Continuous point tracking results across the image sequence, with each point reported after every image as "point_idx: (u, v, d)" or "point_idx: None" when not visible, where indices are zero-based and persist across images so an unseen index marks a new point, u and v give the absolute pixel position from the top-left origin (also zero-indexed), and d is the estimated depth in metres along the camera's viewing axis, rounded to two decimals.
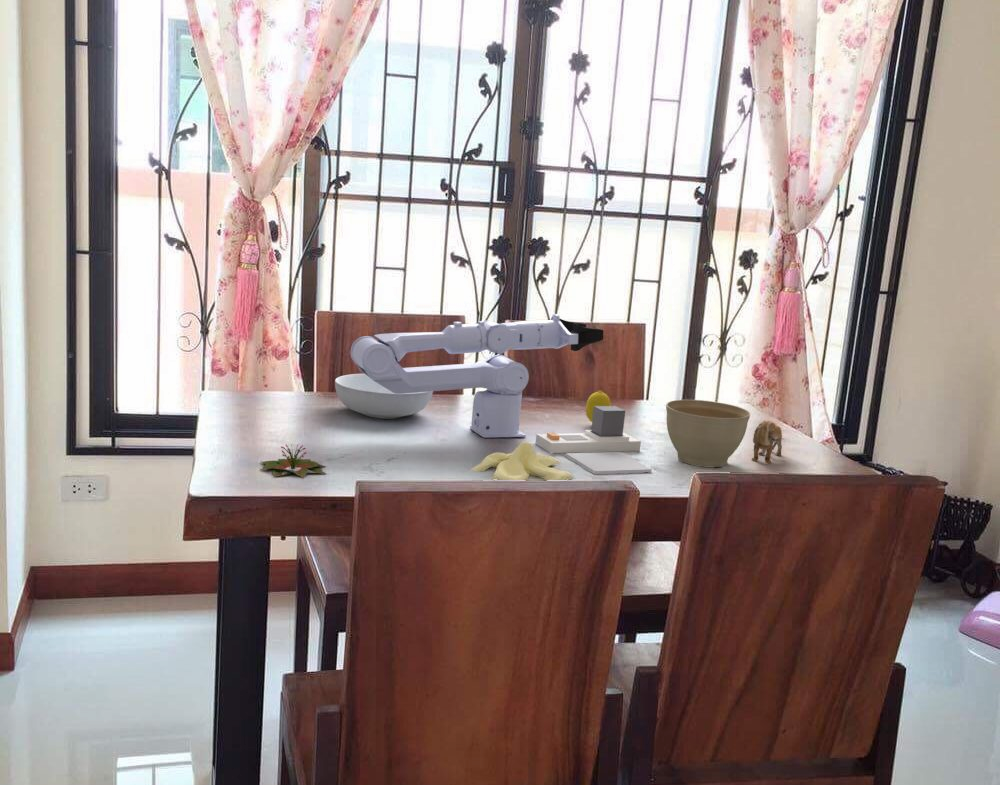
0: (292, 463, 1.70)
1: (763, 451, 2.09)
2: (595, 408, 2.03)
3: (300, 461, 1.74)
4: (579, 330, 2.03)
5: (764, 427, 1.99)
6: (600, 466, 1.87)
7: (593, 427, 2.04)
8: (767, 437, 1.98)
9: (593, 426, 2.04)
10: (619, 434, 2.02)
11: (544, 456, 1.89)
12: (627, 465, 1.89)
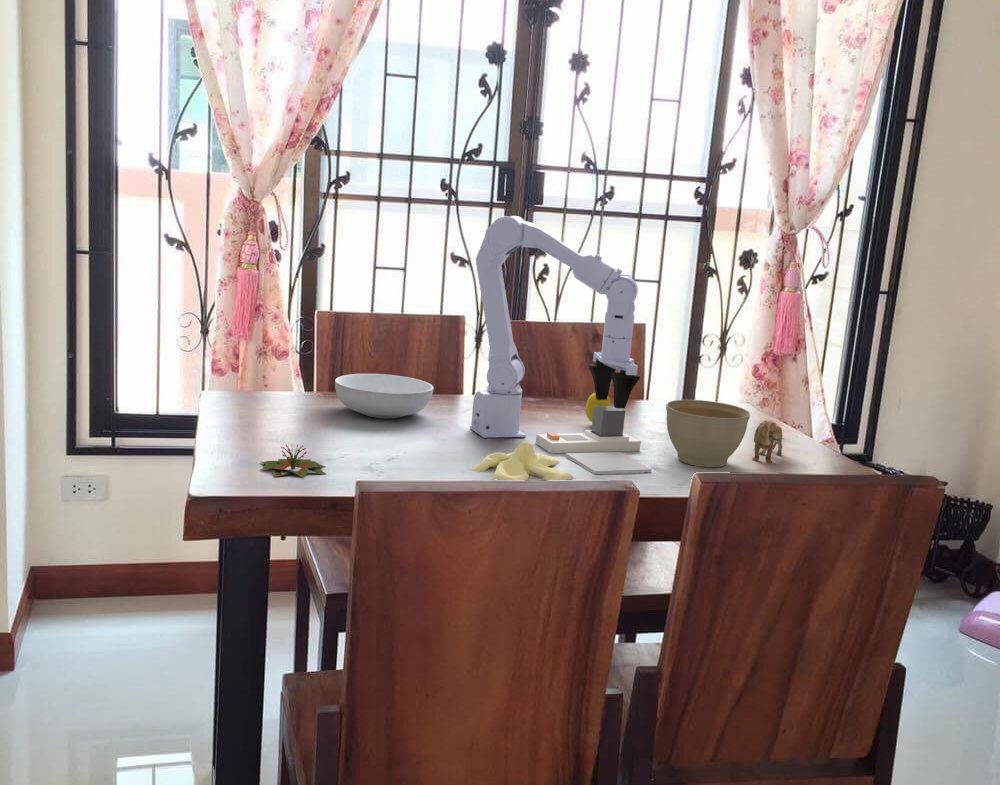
0: (292, 463, 1.70)
1: (763, 451, 2.09)
2: (595, 408, 2.03)
3: (300, 461, 1.74)
4: (635, 378, 1.96)
5: (765, 427, 1.99)
6: (600, 466, 1.87)
7: (593, 427, 2.04)
8: (767, 436, 1.99)
9: (593, 426, 2.04)
10: (619, 434, 2.02)
11: (544, 456, 1.89)
12: (627, 465, 1.89)
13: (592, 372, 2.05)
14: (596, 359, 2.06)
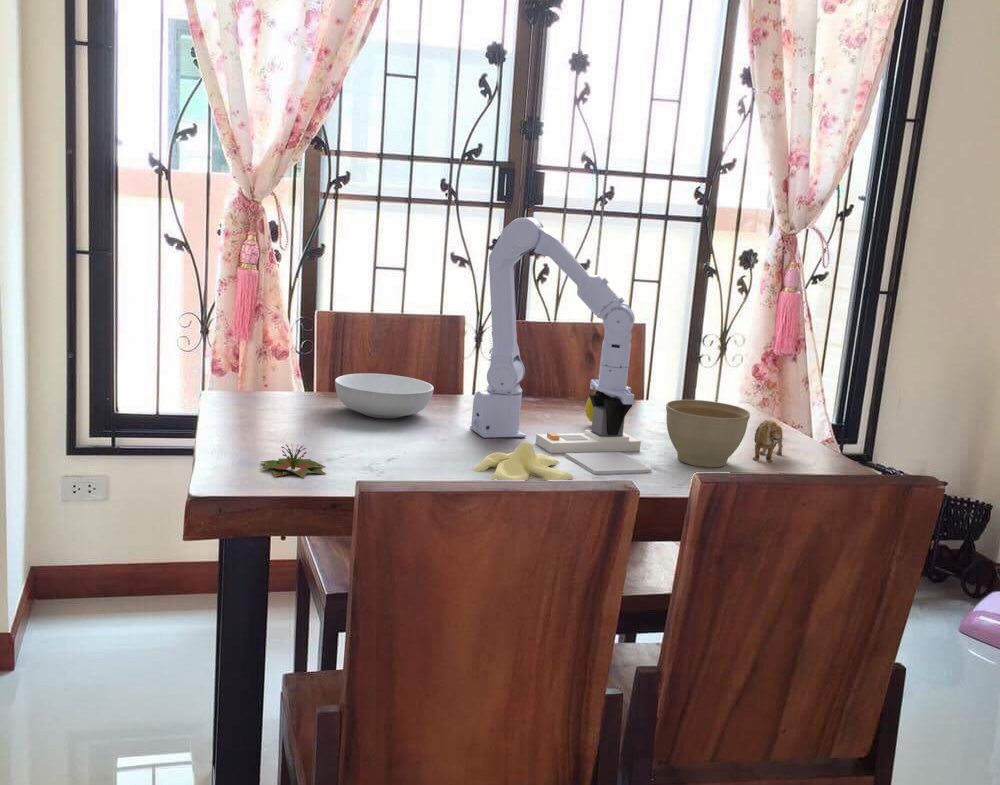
0: (292, 463, 1.70)
1: (764, 450, 2.10)
2: (595, 408, 2.03)
3: (300, 461, 1.74)
4: (628, 405, 1.99)
5: (765, 427, 1.99)
6: (600, 466, 1.87)
7: (593, 427, 2.04)
8: (768, 436, 1.99)
9: (593, 426, 2.04)
10: (619, 434, 2.02)
11: (544, 456, 1.89)
12: (627, 465, 1.89)
13: (592, 401, 2.04)
14: (593, 387, 2.07)
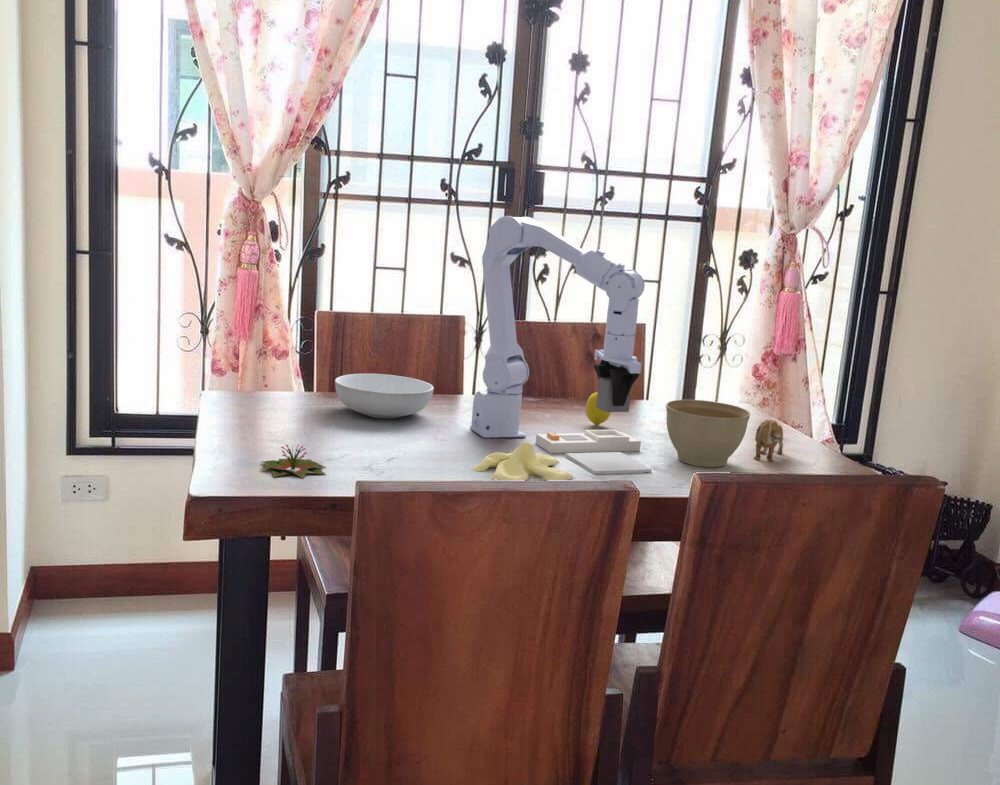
0: (292, 463, 1.70)
1: (764, 450, 2.10)
2: (600, 379, 1.95)
3: (301, 461, 1.74)
4: (634, 375, 1.91)
5: (767, 426, 2.00)
6: (600, 466, 1.87)
7: (598, 399, 1.96)
8: (769, 435, 2.00)
9: (598, 398, 1.96)
10: (625, 406, 1.95)
11: (544, 456, 1.89)
12: (627, 465, 1.89)
13: (597, 372, 1.97)
14: (598, 357, 1.99)
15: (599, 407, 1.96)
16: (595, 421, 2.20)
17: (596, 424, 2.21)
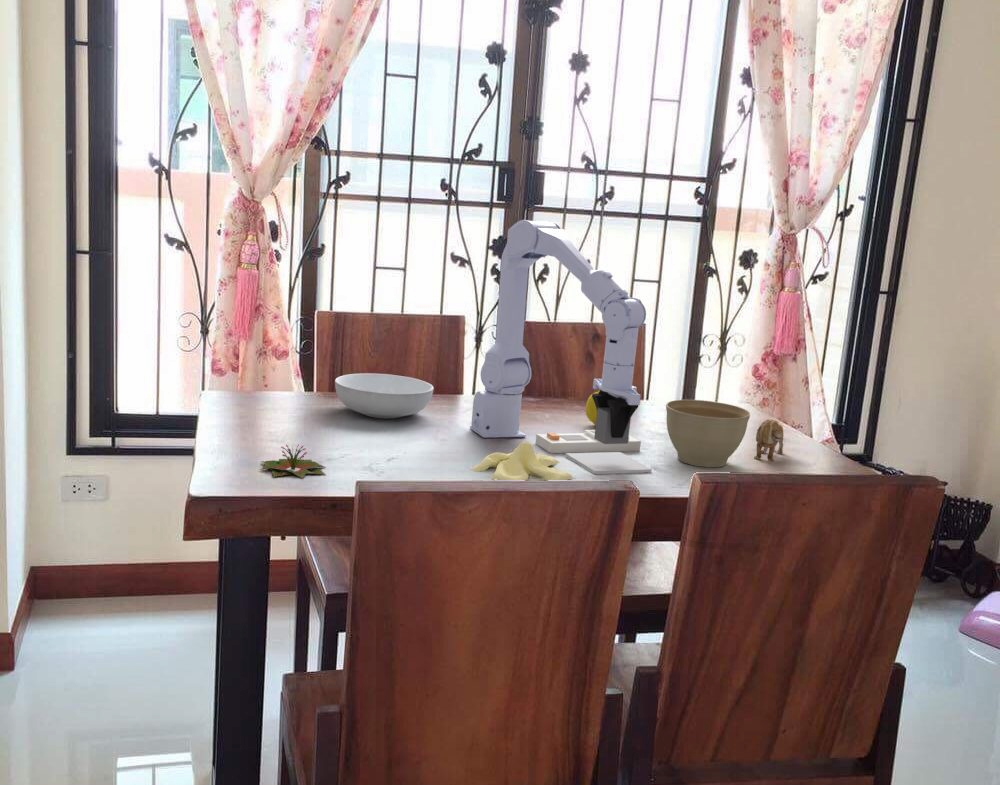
0: (292, 463, 1.70)
1: (765, 449, 2.11)
2: (599, 410, 1.89)
3: (301, 461, 1.74)
4: (634, 406, 1.85)
5: (767, 426, 2.00)
6: (600, 466, 1.87)
7: (597, 430, 1.90)
8: (770, 435, 2.00)
9: (597, 429, 1.90)
10: (625, 437, 1.89)
11: (543, 456, 1.89)
12: (627, 465, 1.89)
13: (595, 402, 1.91)
14: (596, 386, 1.93)
15: (597, 438, 1.90)
16: (595, 421, 2.20)
17: None
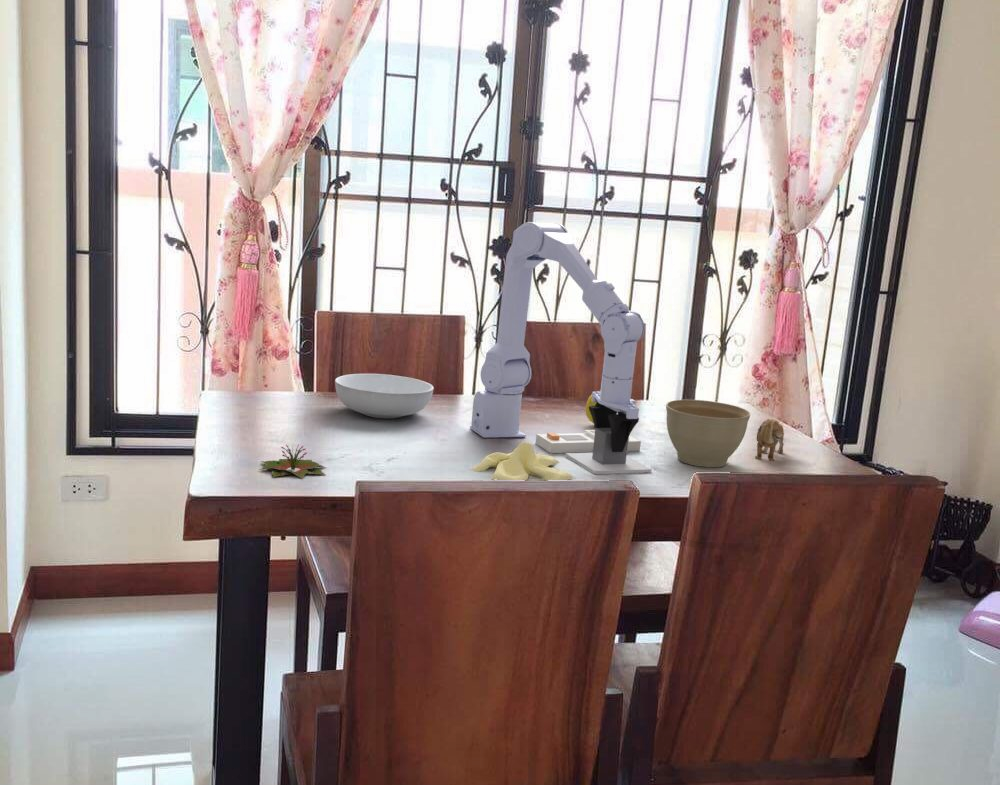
0: (292, 463, 1.70)
1: (765, 449, 2.11)
2: (597, 430, 1.90)
3: (301, 461, 1.74)
4: (634, 420, 1.85)
5: (768, 426, 2.01)
6: (600, 466, 1.87)
7: (594, 450, 1.91)
8: (771, 435, 2.00)
9: (594, 449, 1.91)
10: (622, 458, 1.90)
11: (543, 456, 1.89)
12: (627, 465, 1.89)
13: (592, 414, 1.92)
14: (595, 399, 1.94)
15: (595, 459, 1.90)
16: None
17: None
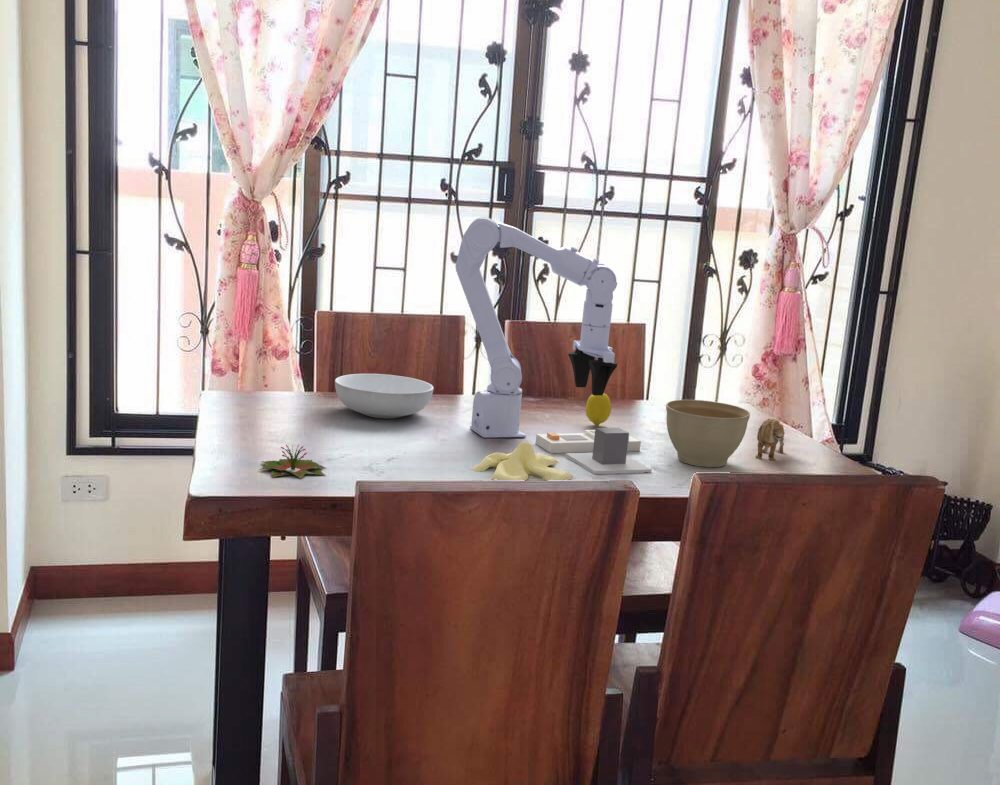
0: (292, 464, 1.70)
1: (766, 448, 2.11)
2: (597, 430, 1.90)
3: (301, 462, 1.74)
4: (612, 365, 2.00)
5: (769, 425, 2.01)
6: (600, 466, 1.87)
7: (594, 450, 1.91)
8: (771, 434, 2.01)
9: (594, 449, 1.91)
10: (622, 458, 1.90)
11: (543, 456, 1.89)
12: (627, 465, 1.89)
13: (571, 360, 2.08)
14: (576, 347, 2.10)
15: (595, 459, 1.90)
16: (595, 421, 2.20)
17: (596, 424, 2.21)
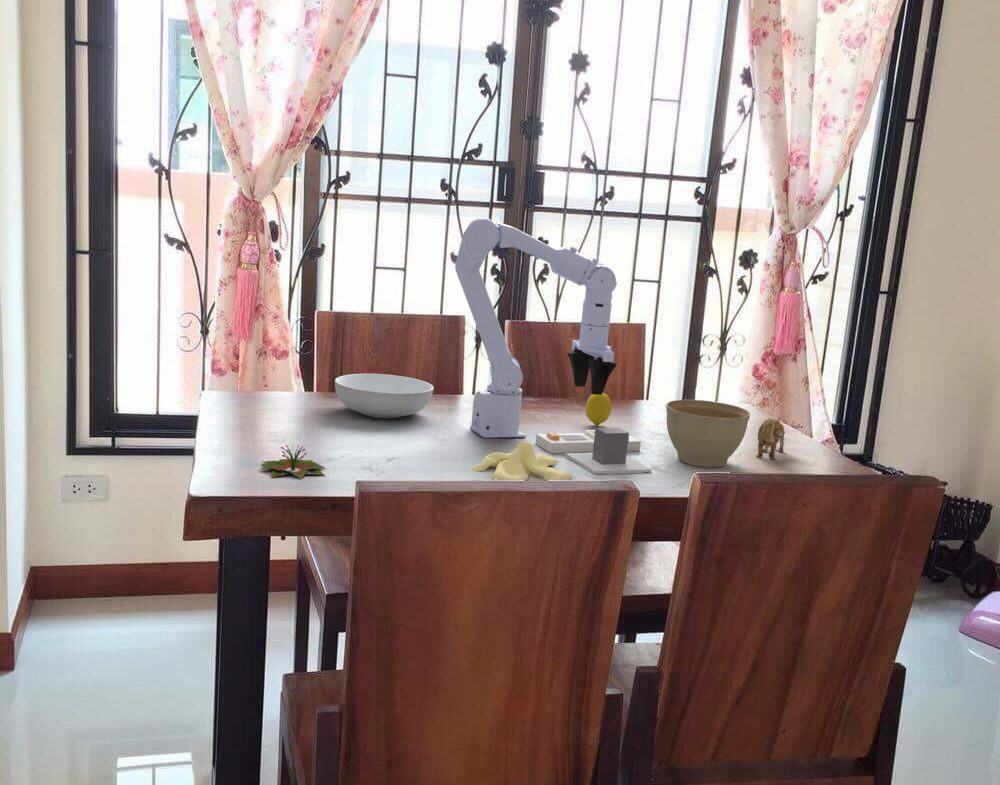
0: (292, 464, 1.70)
1: (766, 448, 2.12)
2: (597, 430, 1.90)
3: (302, 462, 1.74)
4: (612, 365, 2.01)
5: (769, 425, 2.01)
6: (600, 466, 1.87)
7: (594, 450, 1.91)
8: (772, 434, 2.01)
9: (594, 449, 1.91)
10: (622, 458, 1.90)
11: (543, 456, 1.89)
12: (627, 465, 1.89)
13: (571, 359, 2.09)
14: (575, 347, 2.10)
15: (595, 459, 1.90)
16: (595, 421, 2.20)
17: (596, 424, 2.21)
